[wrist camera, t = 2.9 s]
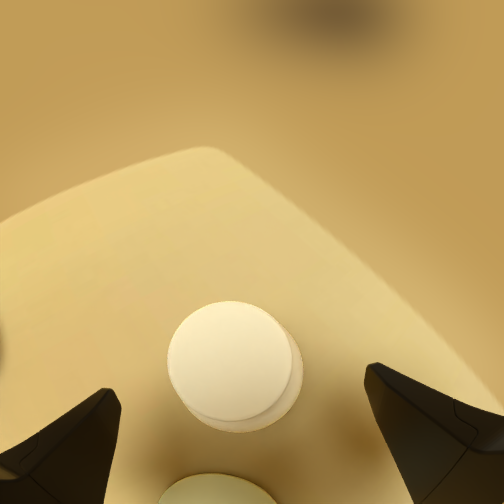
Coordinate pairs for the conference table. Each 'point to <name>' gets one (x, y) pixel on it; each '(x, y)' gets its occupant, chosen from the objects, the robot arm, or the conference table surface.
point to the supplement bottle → (235, 367)
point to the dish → (215, 491)
